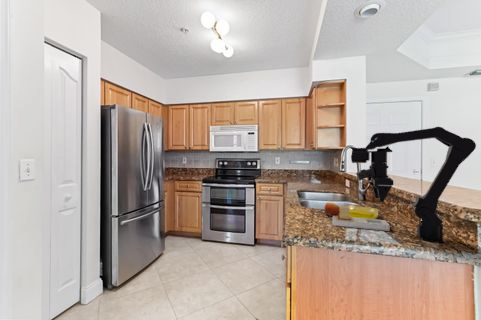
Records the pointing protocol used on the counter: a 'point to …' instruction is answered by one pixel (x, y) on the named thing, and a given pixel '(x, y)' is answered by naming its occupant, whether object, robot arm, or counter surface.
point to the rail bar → (362, 223)
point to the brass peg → (344, 213)
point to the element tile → (363, 212)
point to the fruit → (331, 209)
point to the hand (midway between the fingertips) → (378, 200)
